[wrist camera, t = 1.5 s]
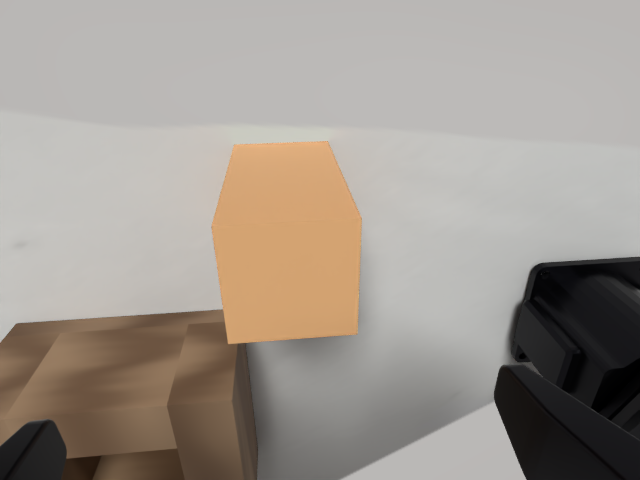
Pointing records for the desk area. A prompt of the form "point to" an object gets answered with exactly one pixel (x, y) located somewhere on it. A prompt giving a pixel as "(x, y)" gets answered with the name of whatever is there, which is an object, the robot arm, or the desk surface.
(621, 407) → the robot arm
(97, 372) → the socket
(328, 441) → the desk surface
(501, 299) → the desk surface
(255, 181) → the peg
